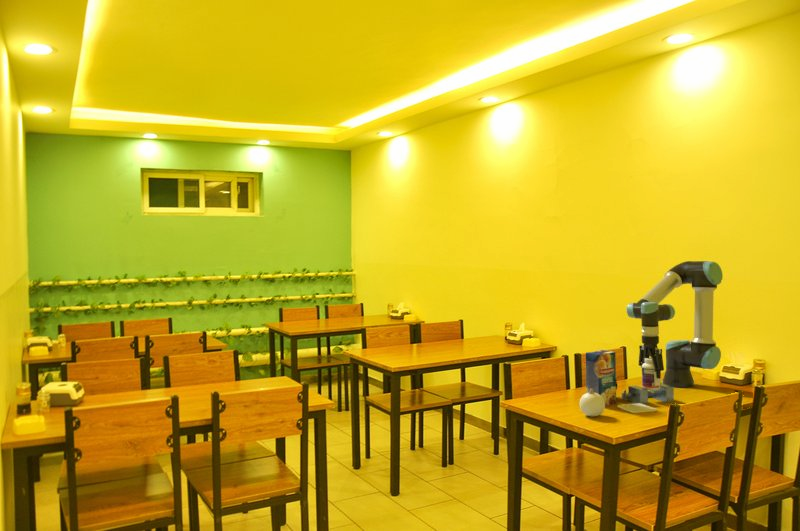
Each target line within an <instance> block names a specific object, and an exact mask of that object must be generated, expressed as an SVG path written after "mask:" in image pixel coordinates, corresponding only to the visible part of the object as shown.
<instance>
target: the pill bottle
mask: <svg viewBox="0 0 800 531" xmlns="http://www.w3.org/2000/svg"><path fill="white" fill-rule="evenodd" d="M657 369H658V368H657ZM654 371H655V368H654V364H653V361H652V358H651V357H649V358H645V363H644V364H642V368H641V384H642V385H641V387H642V388H646V389H648V391H650V390H652V391H655V390H659V389H660V388H661V383H662V381H660V385H656V386H655V385H654Z"/></svg>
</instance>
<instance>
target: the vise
mask: <svg viewBox="0 0 800 531" xmlns="http://www.w3.org/2000/svg"><path fill="white" fill-rule="evenodd" d="M627 389H628V392H627ZM627 389H623V392H621V399H623V401H624V402H626V401H629V402H631V403H632V404H636V403H641V404H644V405H649V398H653V399H655V400H658V401H660V402H664V403H674V402H675V396H674V395H675V394H674V393H675V392H674V391H675V390H674V389H675V388H674V387H672V386H669V385H666V384H663V382H661V388H660V389H659V390H655V391H652V390H648V389H646V388H643V387H642V386H639V385H636V384H635V385H628V386H627Z"/></svg>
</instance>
